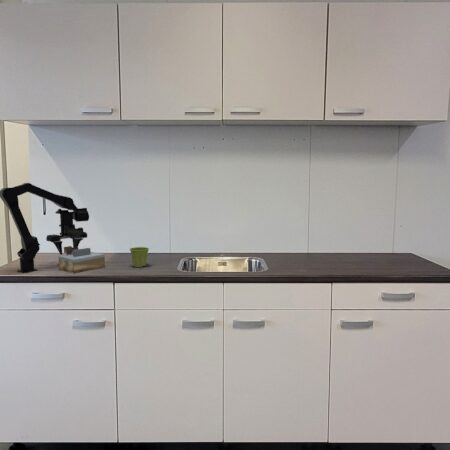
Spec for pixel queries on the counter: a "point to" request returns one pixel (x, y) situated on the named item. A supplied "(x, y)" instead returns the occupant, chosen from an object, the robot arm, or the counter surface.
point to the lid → (81, 255)
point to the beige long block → (66, 249)
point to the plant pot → (139, 256)
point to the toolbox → (80, 263)
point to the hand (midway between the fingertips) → (68, 253)
